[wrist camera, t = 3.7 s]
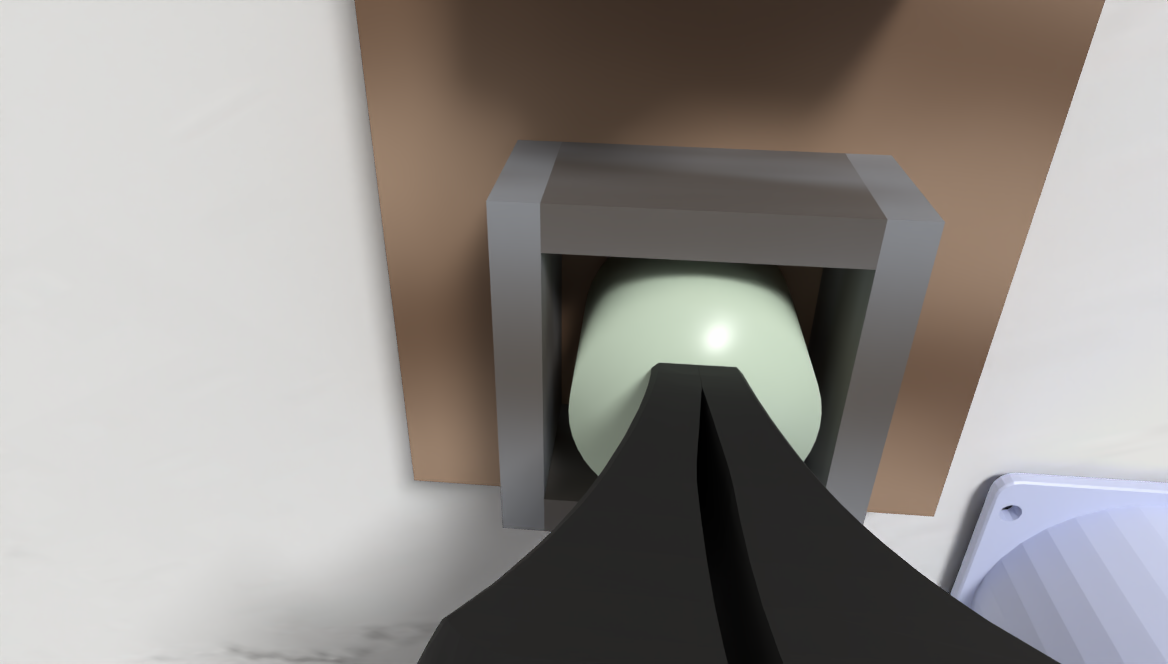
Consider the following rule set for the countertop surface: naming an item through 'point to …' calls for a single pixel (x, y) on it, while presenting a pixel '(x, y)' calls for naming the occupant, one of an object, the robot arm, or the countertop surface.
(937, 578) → the countertop surface
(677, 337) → the sage spring button
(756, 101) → the button panel
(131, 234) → the countertop surface
